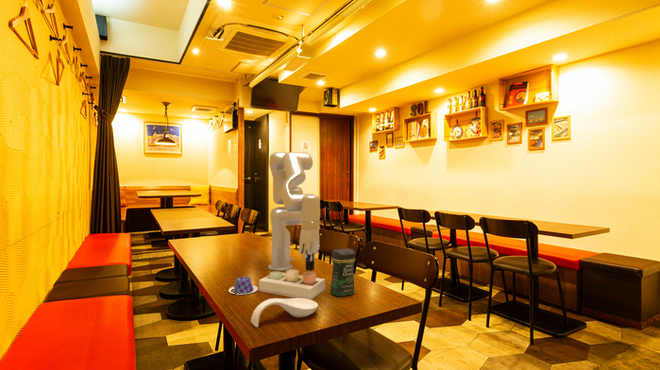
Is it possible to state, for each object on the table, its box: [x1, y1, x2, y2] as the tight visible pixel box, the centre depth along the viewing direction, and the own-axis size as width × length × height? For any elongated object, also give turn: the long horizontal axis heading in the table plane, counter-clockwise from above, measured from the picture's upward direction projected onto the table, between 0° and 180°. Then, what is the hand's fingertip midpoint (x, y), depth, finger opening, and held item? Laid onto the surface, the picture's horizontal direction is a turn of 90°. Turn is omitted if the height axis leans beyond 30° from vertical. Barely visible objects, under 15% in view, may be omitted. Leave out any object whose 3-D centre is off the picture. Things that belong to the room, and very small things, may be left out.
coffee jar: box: [330, 247, 356, 297], centre depth 139 cm, size 10×8×19 cm
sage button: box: [269, 270, 283, 280], centre depth 145 cm, size 5×5×5 cm
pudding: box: [228, 276, 259, 295], centre depth 141 cm, size 12×12×5 cm
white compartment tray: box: [258, 272, 326, 300], centre depth 142 cm, size 14×24×4 cm, turn 67°
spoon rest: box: [250, 297, 319, 328], centre depth 115 cm, size 24×12×7 cm, turn 126°
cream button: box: [285, 268, 300, 283], centre depth 142 cm, size 5×5×5 cm
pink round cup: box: [302, 271, 317, 286], centre depth 139 cm, size 5×5×5 cm
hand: (309, 269), depth 138 cm, fingers closed
